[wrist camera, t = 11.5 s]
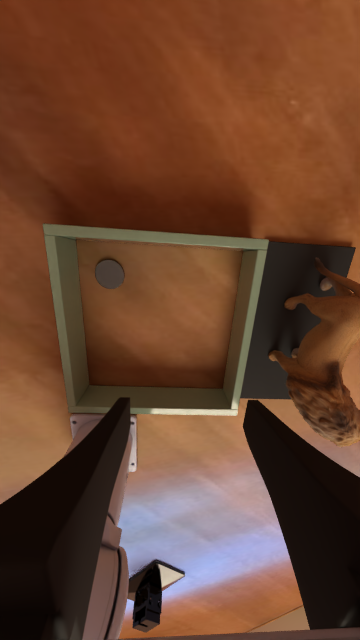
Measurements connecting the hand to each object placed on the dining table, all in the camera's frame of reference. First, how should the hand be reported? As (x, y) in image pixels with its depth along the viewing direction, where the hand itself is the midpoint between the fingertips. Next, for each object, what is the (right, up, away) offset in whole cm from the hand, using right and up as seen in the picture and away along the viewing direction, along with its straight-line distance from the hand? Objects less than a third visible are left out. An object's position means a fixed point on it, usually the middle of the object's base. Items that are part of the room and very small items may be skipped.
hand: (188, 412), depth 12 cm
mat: (+12, +4, +10) cm, 16 cm away
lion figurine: (+12, +4, +10) cm, 16 cm away
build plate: (-6, -43, +24) cm, 50 cm away
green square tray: (-3, +5, +9) cm, 11 cm away
